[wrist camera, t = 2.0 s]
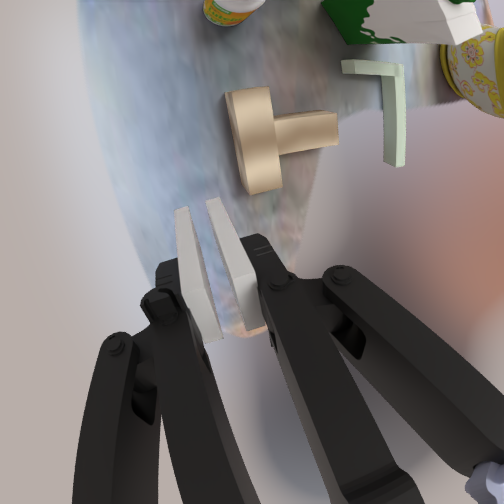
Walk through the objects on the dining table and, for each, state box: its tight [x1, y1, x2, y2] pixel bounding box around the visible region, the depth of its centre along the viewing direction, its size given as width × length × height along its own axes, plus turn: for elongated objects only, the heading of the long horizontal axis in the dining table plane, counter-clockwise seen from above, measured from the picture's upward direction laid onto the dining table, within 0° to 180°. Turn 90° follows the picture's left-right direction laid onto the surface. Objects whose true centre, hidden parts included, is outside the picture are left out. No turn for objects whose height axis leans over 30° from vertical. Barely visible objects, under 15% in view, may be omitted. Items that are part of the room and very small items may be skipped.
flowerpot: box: [440, 24, 504, 118], centre depth 24 cm, size 18×18×16 cm
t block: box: [224, 86, 339, 195], centre depth 30 cm, size 12×12×4 cm
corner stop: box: [341, 59, 406, 167], centre depth 32 cm, size 16×9×3 cm, turn 9°
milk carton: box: [321, 0, 483, 45], centre depth 16 cm, size 9×9×20 cm
